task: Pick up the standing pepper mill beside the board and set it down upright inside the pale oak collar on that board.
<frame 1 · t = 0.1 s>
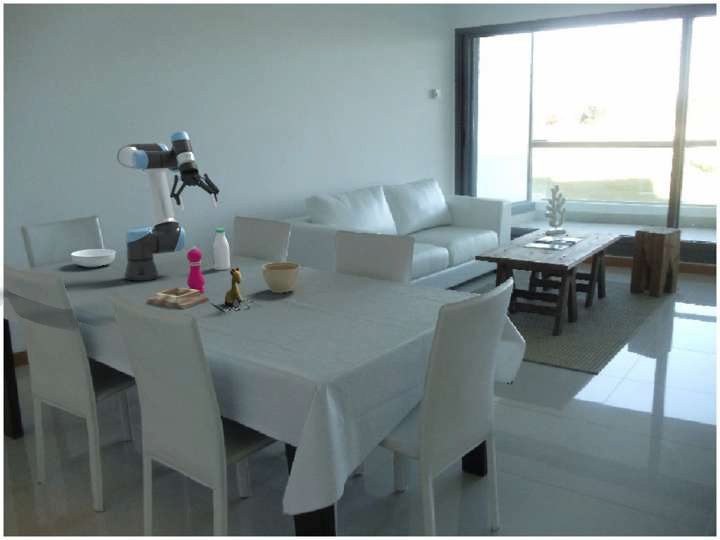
hand: (199, 210, 276), 36 cm above the table, tool tilted 35°, fingers open, 13 cm apart
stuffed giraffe: (235, 305, 270), on the table
planter bowl: (281, 291, 291), on the table
serving bowl: (94, 266, 343), on the table
holder board: (178, 301, 274), on the table
milk bottle: (222, 269, 335), on the table
pepper mill: (196, 292, 288), on the table
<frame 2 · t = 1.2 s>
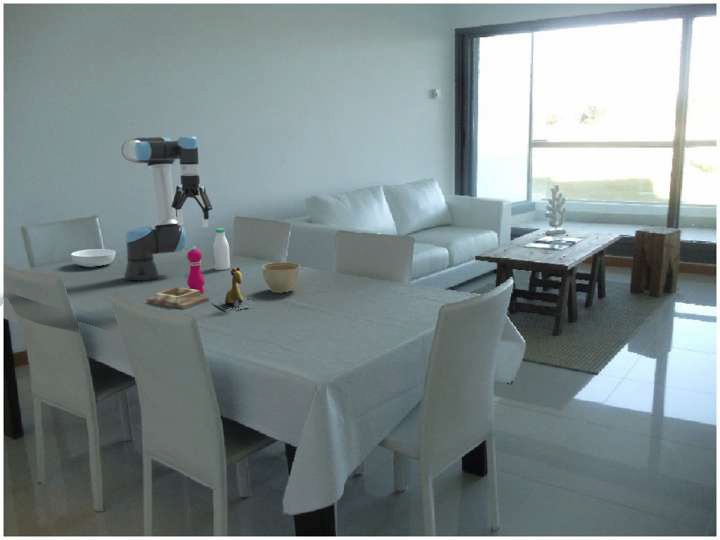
hand: (192, 226, 282), 29 cm above the table, tool pointing down, fingers open, 13 cm apart
nothing on the table moved.
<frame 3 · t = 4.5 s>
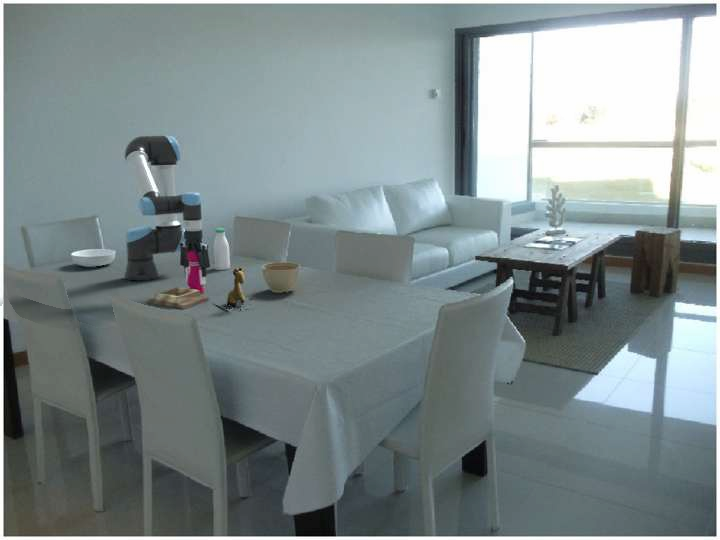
hand: (196, 283, 287), 4 cm above the table, tool pointing down, fingers closed on pepper mill, 7 cm apart
pepper mill: (196, 292, 288), on the table, touching gripper
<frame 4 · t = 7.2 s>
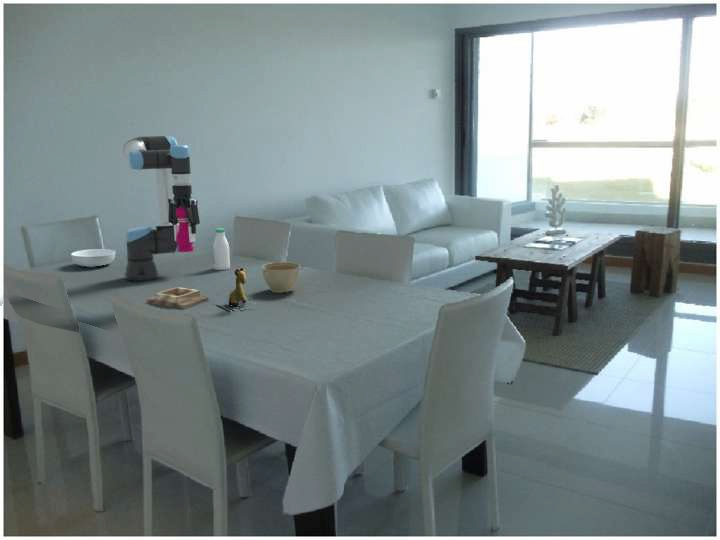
hand: (185, 240, 276), 24 cm above the table, tool pointing down, fingers closed on pepper mill, 7 cm apart
pepper mill: (185, 251, 277), point 19 cm above the table, touching gripper
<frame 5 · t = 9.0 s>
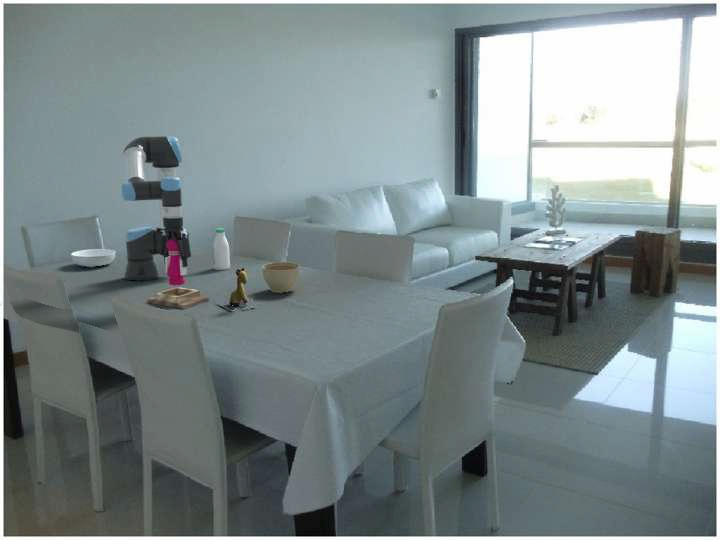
hand: (176, 273, 271), 12 cm above the table, tool pointing down, fingers closed on pepper mill, 7 cm apart
pepper mill: (177, 284, 272), point 7 cm above the table, touching gripper
when the fingers open (7 cm above the table, at t = 10.3 s): pepper mill drops 1 cm, resting on holder board.
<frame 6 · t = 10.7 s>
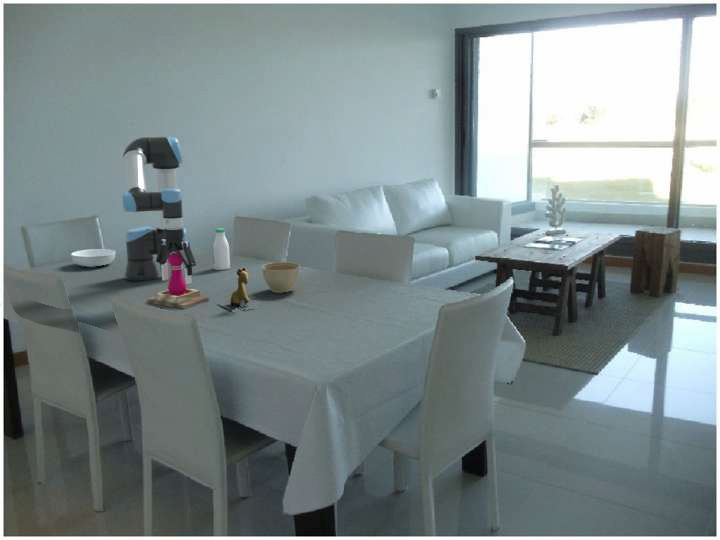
hand: (176, 281, 272), 8 cm above the table, tool pointing down, fingers open, 12 cm apart
pepper mill: (178, 298, 273), point 1 cm above the table, touching holder board
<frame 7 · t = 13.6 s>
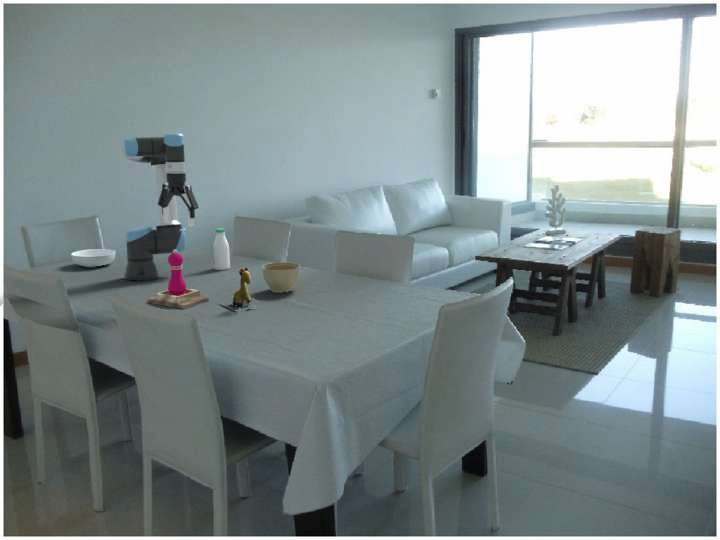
hand: (178, 224, 278), 30 cm above the table, tool pointing down, fingers open, 13 cm apart
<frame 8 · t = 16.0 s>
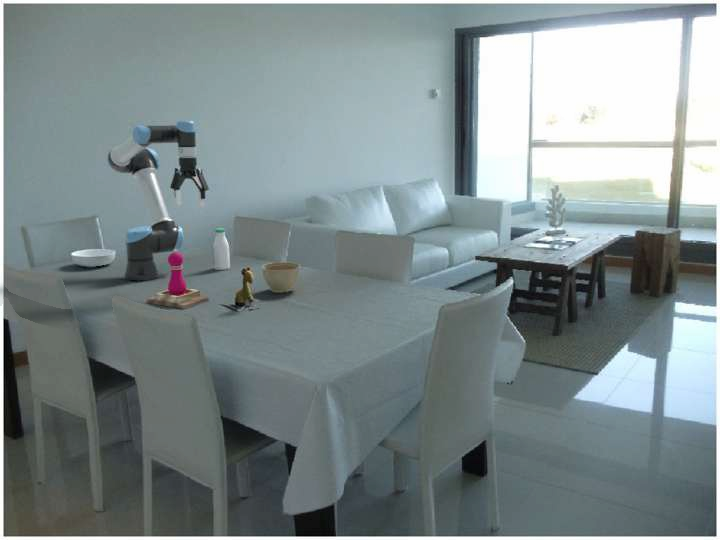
hand: (190, 205, 300), 35 cm above the table, tool pointing down, fingers open, 13 cm apart
at the end: pepper mill 0.0 cm off-centre on the holder board, point 1.3 cm above the holder board's base; pepper mill tilted 0°; the gripper is holding nothing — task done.
